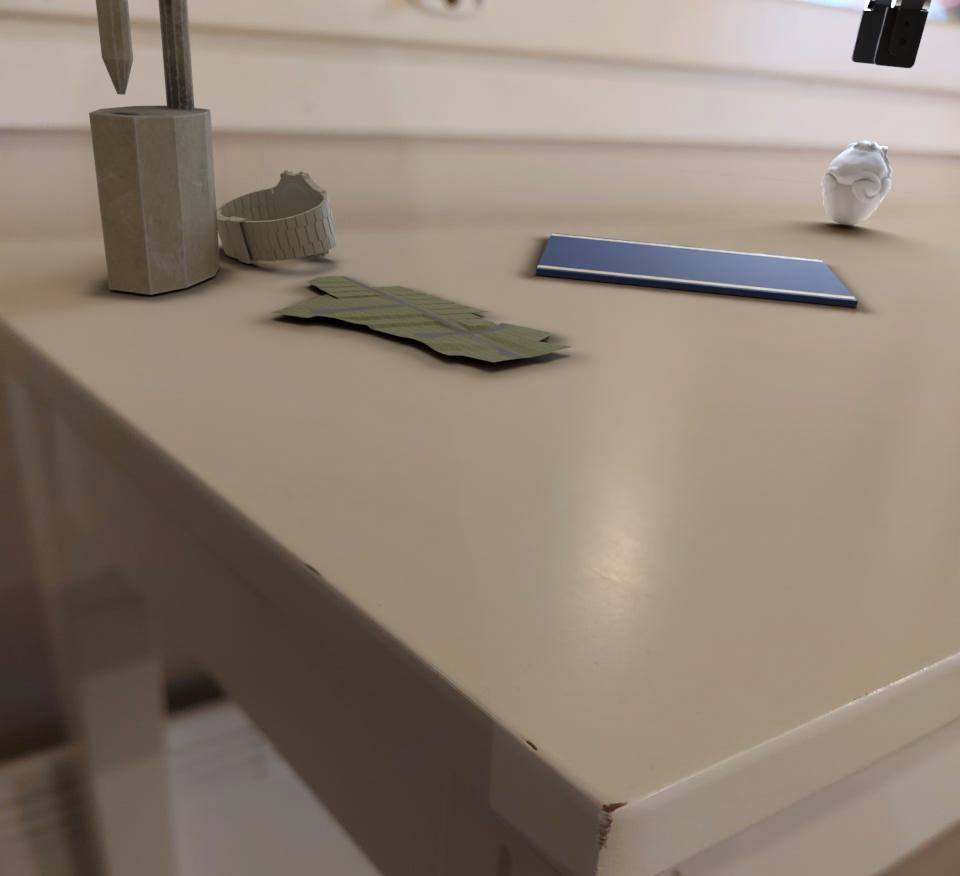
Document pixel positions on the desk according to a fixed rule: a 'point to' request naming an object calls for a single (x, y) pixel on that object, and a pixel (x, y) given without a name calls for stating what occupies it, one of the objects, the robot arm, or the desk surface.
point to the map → (422, 320)
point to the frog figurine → (856, 182)
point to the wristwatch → (278, 222)
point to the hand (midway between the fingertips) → (880, 64)
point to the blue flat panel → (693, 269)
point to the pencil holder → (154, 165)
